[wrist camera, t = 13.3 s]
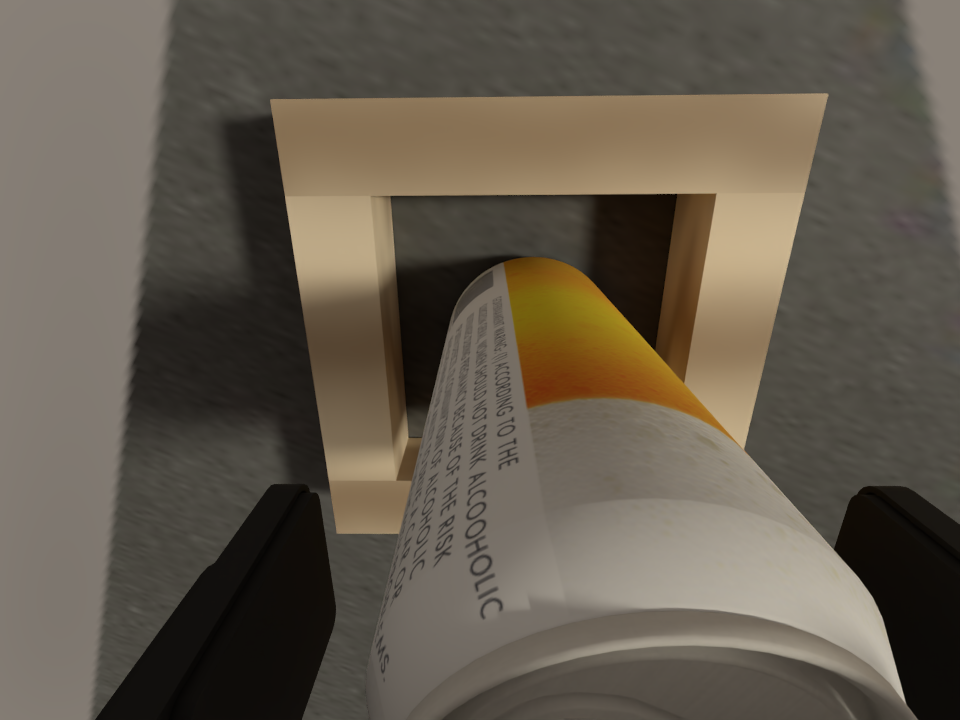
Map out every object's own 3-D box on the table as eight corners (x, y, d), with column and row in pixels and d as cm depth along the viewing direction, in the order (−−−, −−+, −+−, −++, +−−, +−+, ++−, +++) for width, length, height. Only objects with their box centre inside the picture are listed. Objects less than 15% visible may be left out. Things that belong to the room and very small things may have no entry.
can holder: (692, 486, 21) (723, 535, 18) (356, 485, 21) (337, 533, 19) (767, 106, 15) (828, 93, 13) (308, 111, 16) (270, 99, 13)
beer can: (539, 426, 20) (653, 1008, 6) (420, 345, 19) (228, 855, 5) (639, 316, 18) (1127, 801, 4) (515, 218, 17) (642, 462, 3)
